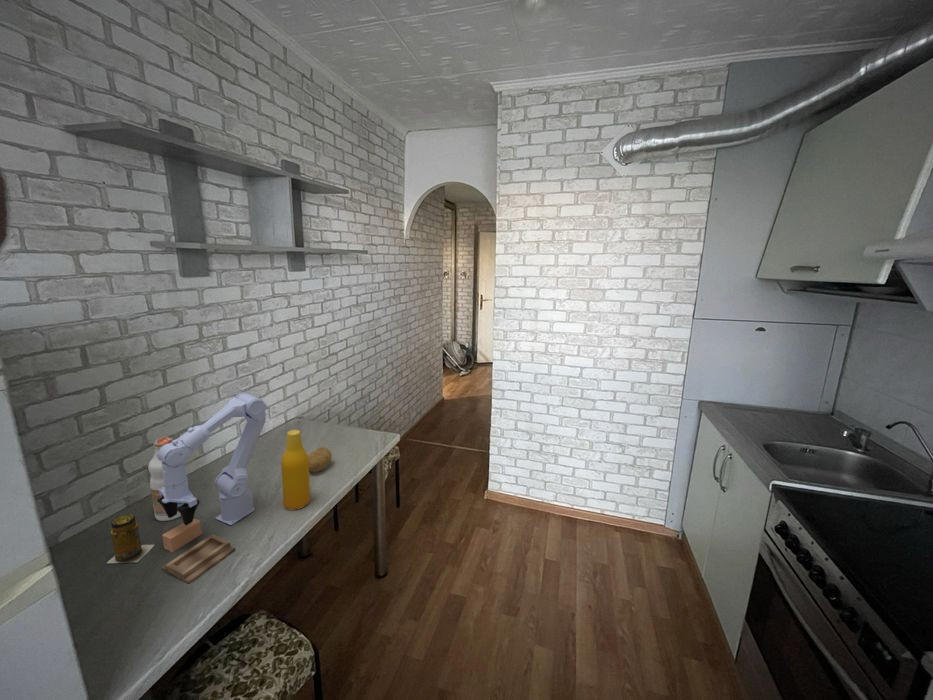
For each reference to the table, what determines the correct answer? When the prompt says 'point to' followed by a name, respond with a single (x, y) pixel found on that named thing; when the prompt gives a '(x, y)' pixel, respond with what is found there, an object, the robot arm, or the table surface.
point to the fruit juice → (159, 481)
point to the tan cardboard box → (181, 535)
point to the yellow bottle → (295, 472)
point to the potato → (319, 459)
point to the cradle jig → (199, 559)
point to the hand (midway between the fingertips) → (180, 519)
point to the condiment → (127, 541)
